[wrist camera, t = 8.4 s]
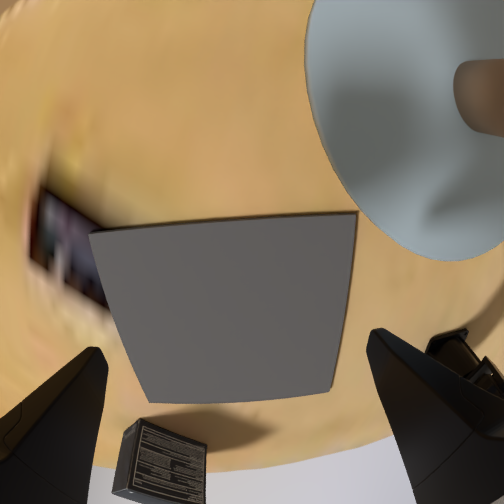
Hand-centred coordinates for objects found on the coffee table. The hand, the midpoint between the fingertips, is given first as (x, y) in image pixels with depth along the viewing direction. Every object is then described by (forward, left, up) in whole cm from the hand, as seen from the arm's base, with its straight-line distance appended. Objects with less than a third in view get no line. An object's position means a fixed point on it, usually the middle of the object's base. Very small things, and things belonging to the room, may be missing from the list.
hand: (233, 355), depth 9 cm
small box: (+12, +30, -13) cm, 35 cm away
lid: (-13, -9, -6) cm, 17 cm away
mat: (+1, +10, -13) cm, 16 cm away
